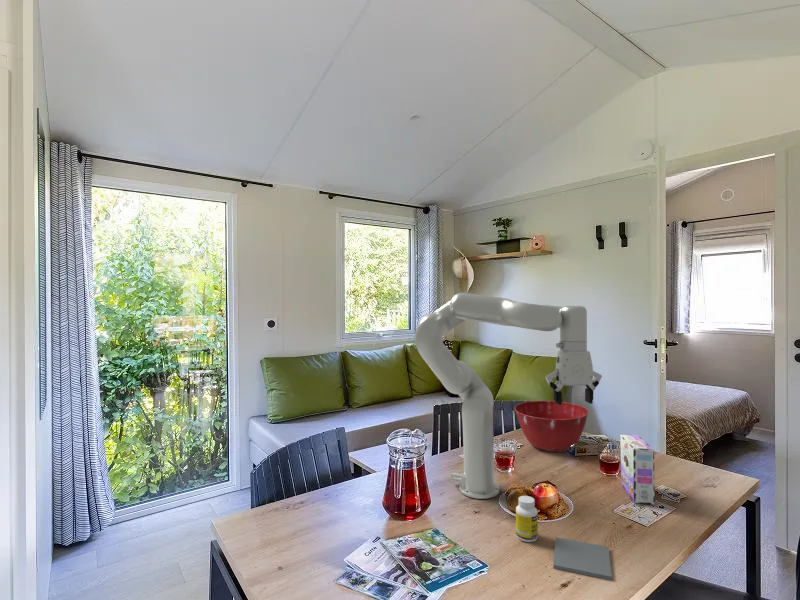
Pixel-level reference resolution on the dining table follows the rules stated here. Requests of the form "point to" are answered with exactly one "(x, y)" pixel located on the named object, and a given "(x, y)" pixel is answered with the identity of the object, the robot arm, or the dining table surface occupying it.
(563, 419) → the mixing bowl
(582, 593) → the dining table surface
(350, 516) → the dining table surface
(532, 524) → the supplement bottle
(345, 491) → the dining table surface
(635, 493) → the candy box
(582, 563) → the slate coaster
